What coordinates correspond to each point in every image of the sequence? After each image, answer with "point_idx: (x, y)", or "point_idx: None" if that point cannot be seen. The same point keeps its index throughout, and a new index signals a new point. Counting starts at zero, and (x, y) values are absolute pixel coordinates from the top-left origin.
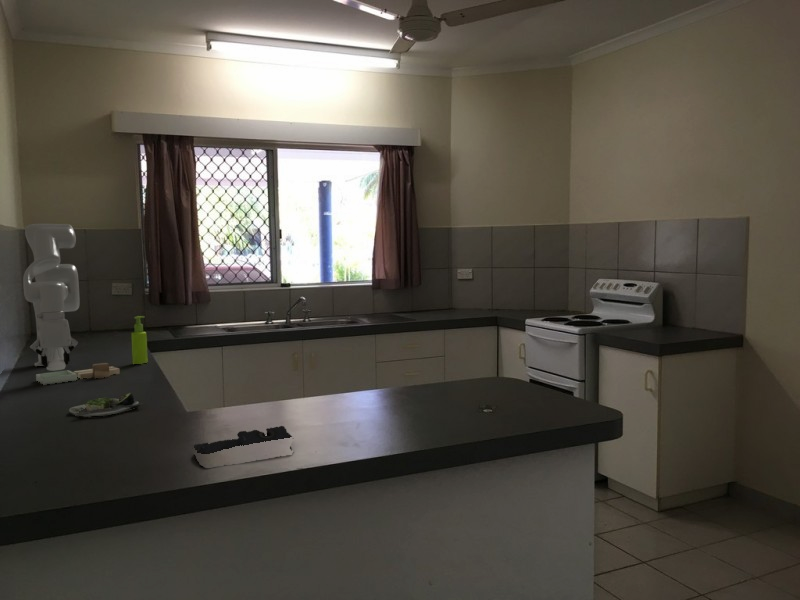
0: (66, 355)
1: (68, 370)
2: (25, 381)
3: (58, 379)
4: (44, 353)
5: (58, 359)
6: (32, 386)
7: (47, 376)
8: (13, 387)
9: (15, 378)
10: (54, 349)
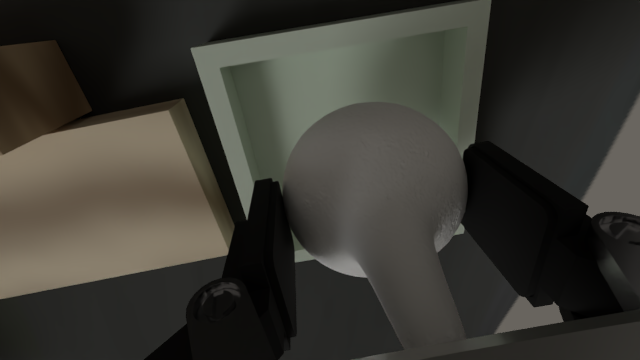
0: (260, 243)
1: None
2: None
3: (354, 19)
4: (628, 247)
5: (366, 200)
6: (527, 15)
7: None
8: (616, 68)
9: (487, 318)
10: None
